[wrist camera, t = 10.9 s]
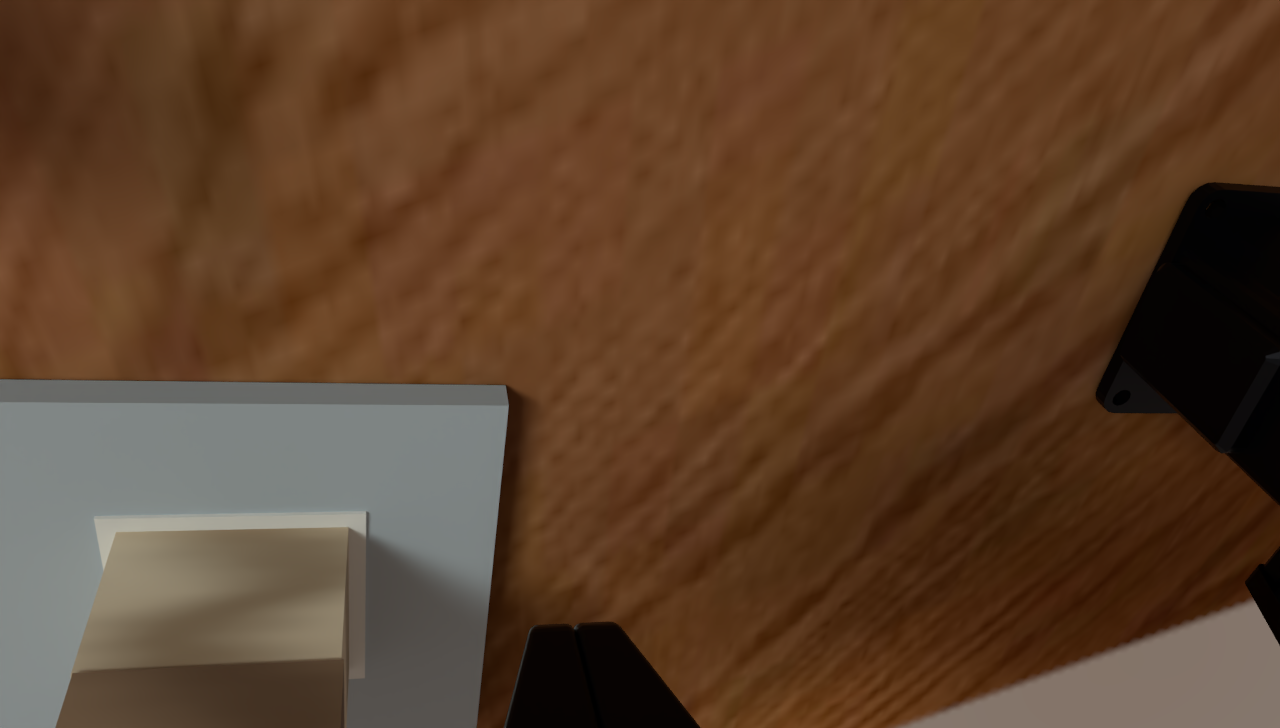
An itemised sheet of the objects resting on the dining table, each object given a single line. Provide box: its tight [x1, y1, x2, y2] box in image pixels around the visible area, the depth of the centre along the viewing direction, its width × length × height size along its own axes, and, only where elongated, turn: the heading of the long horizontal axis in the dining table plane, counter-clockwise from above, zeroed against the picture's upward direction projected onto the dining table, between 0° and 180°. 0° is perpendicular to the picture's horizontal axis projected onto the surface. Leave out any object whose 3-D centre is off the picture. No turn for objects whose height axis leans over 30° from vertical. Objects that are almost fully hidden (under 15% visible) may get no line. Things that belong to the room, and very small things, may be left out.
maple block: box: [70, 527, 349, 728], centre depth 23 cm, size 5×5×4 cm
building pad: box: [0, 379, 509, 728], centre depth 25 cm, size 12×12×1 cm
